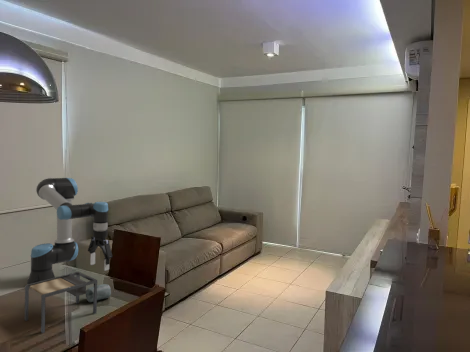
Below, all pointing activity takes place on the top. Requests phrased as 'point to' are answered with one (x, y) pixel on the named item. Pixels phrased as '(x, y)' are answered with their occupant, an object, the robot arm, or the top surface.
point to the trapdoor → (60, 286)
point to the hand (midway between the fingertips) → (99, 267)
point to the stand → (78, 274)
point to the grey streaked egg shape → (98, 292)
